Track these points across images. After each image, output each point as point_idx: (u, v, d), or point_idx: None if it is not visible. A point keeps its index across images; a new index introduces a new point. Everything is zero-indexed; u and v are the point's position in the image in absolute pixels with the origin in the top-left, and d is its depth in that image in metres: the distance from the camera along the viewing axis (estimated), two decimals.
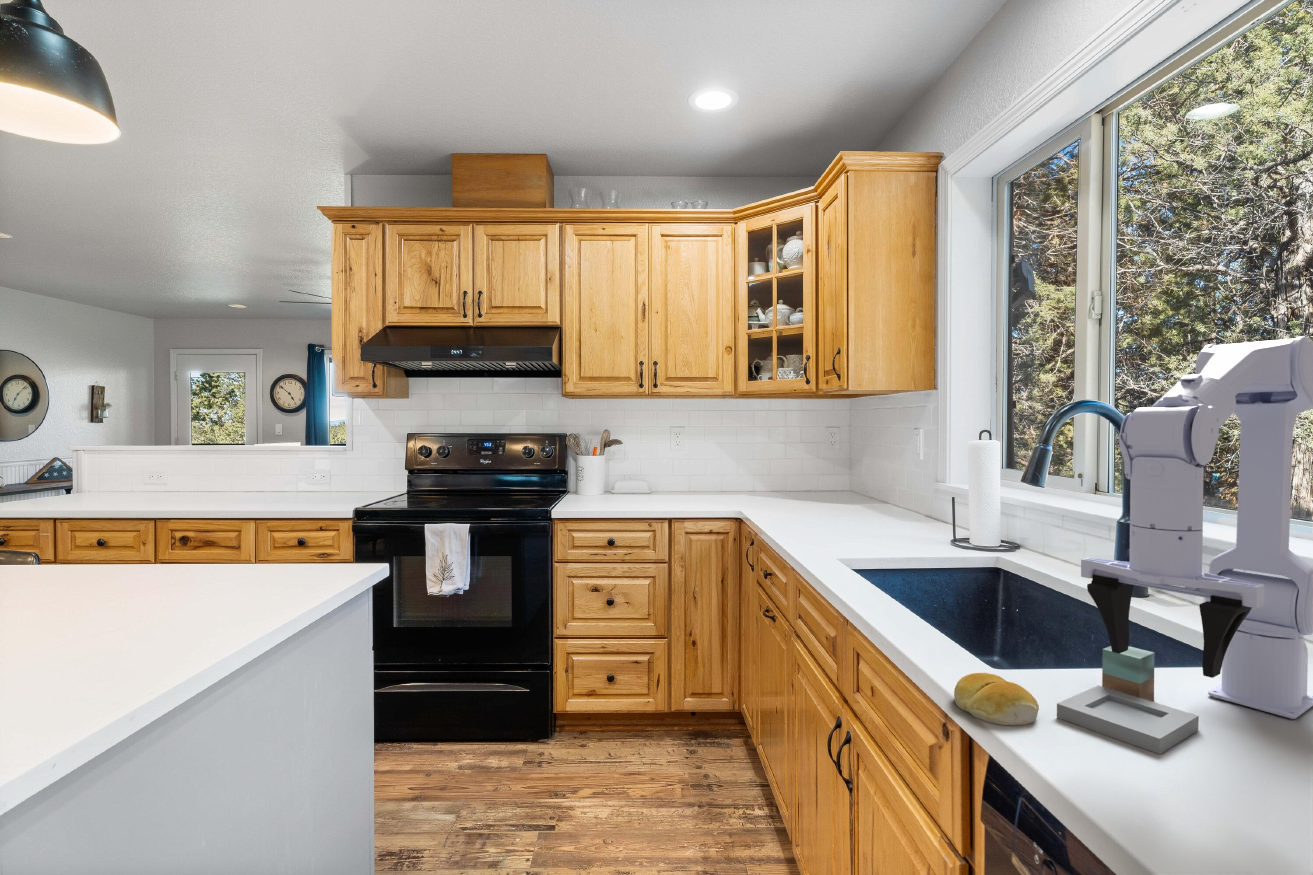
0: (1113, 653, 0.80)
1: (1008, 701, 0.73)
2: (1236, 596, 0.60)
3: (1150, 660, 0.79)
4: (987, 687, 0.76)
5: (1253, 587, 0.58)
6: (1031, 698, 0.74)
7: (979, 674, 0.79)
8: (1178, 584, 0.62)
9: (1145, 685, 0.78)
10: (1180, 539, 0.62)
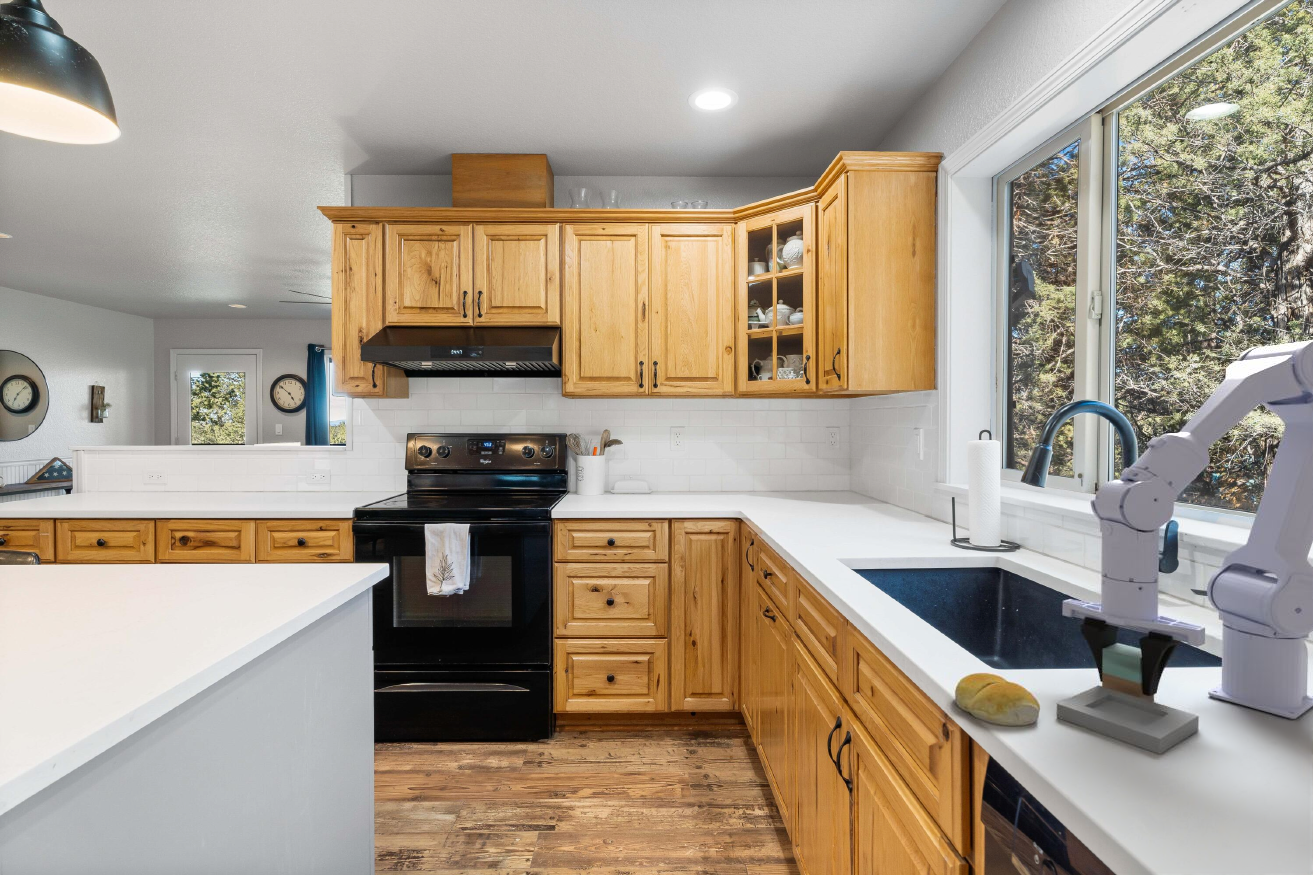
0: (1113, 653, 0.80)
1: (1010, 701, 0.73)
2: (1183, 636, 0.75)
3: None
4: (988, 687, 0.76)
5: (1195, 630, 0.74)
6: (1032, 698, 0.74)
7: (980, 674, 0.79)
8: (1138, 625, 0.77)
9: None
10: (1140, 589, 0.77)
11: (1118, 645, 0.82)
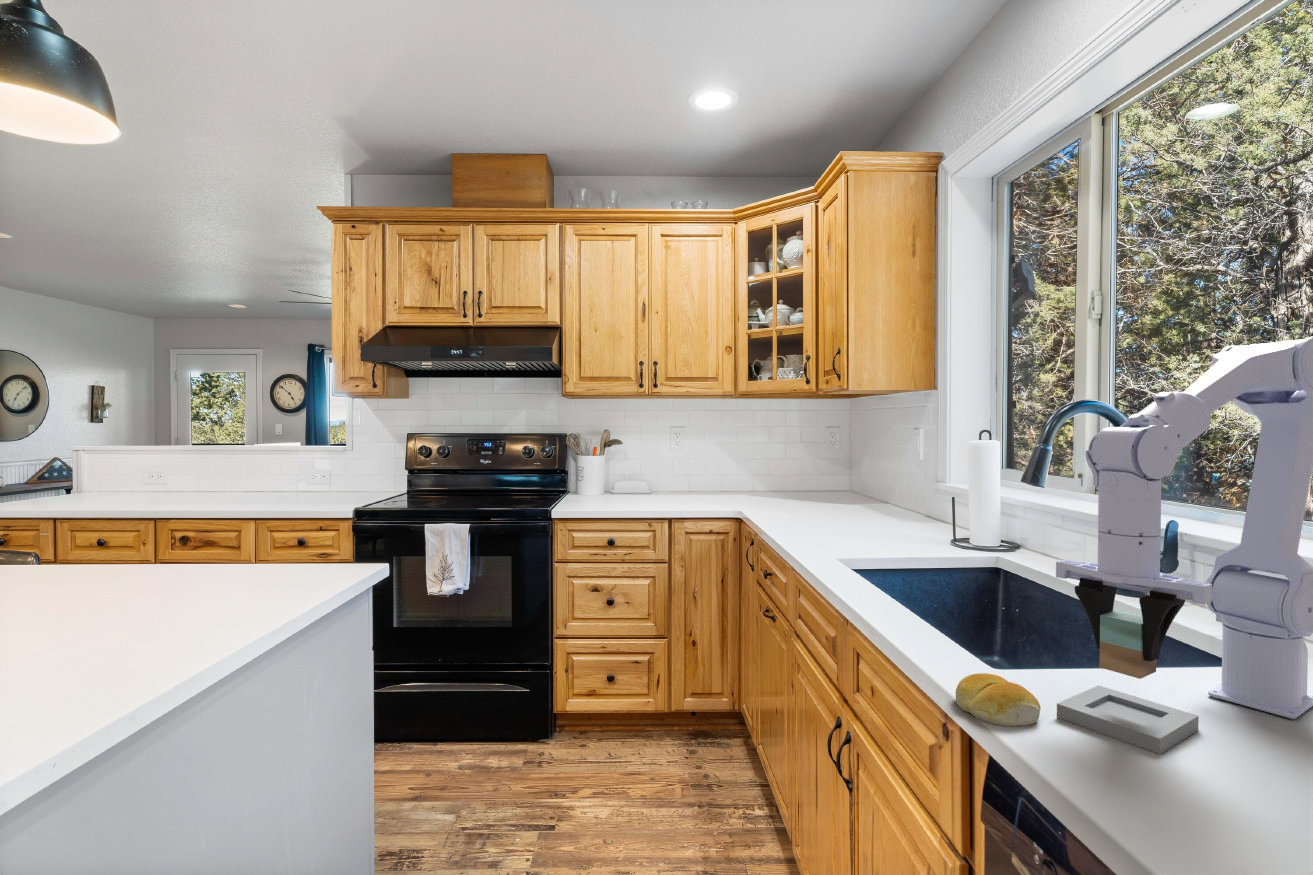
0: (1112, 619, 0.73)
1: (1010, 702, 0.73)
2: (1188, 594, 0.68)
3: None
4: (989, 688, 0.75)
5: (1201, 586, 0.67)
6: (1033, 699, 0.74)
7: (981, 675, 0.79)
8: (1138, 583, 0.70)
9: None
10: (1140, 544, 0.70)
11: (1117, 612, 0.75)
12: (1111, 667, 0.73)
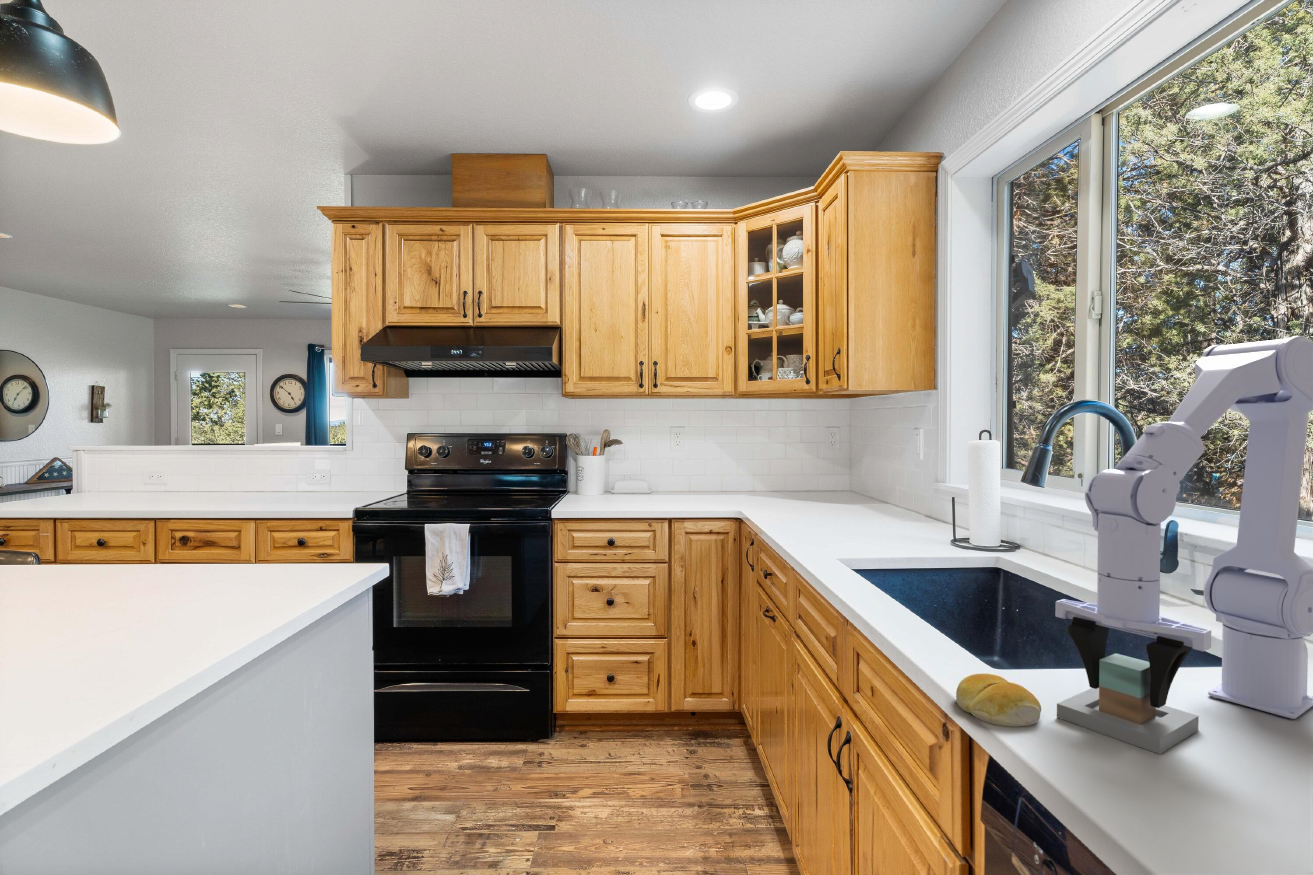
0: (1111, 664, 0.73)
1: (1011, 702, 0.73)
2: (1187, 640, 0.68)
3: None
4: (989, 688, 0.75)
5: (1201, 633, 0.67)
6: (1034, 699, 0.74)
7: (981, 675, 0.79)
8: (1137, 628, 0.70)
9: (1146, 699, 0.71)
10: (1139, 588, 0.71)
11: (1116, 656, 0.75)
12: (1110, 712, 0.73)
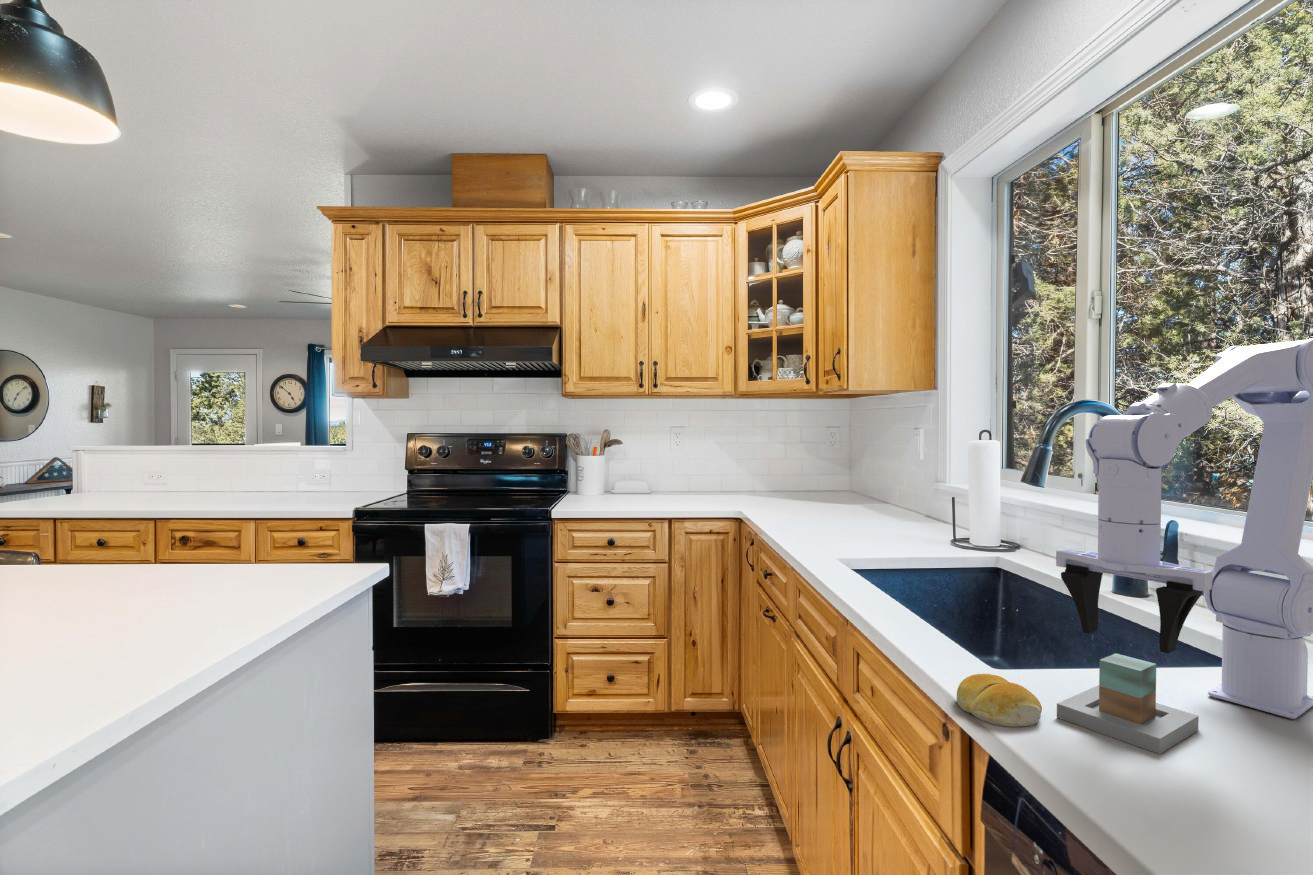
0: (1111, 664, 0.73)
1: (1012, 702, 0.73)
2: (1188, 581, 0.68)
3: (1151, 672, 0.72)
4: (990, 688, 0.75)
5: (1202, 573, 0.67)
6: (1034, 699, 0.74)
7: (982, 675, 0.79)
8: (1138, 571, 0.70)
9: (1146, 699, 0.71)
10: (1140, 531, 0.70)
11: (1116, 656, 0.75)
12: (1110, 712, 0.73)
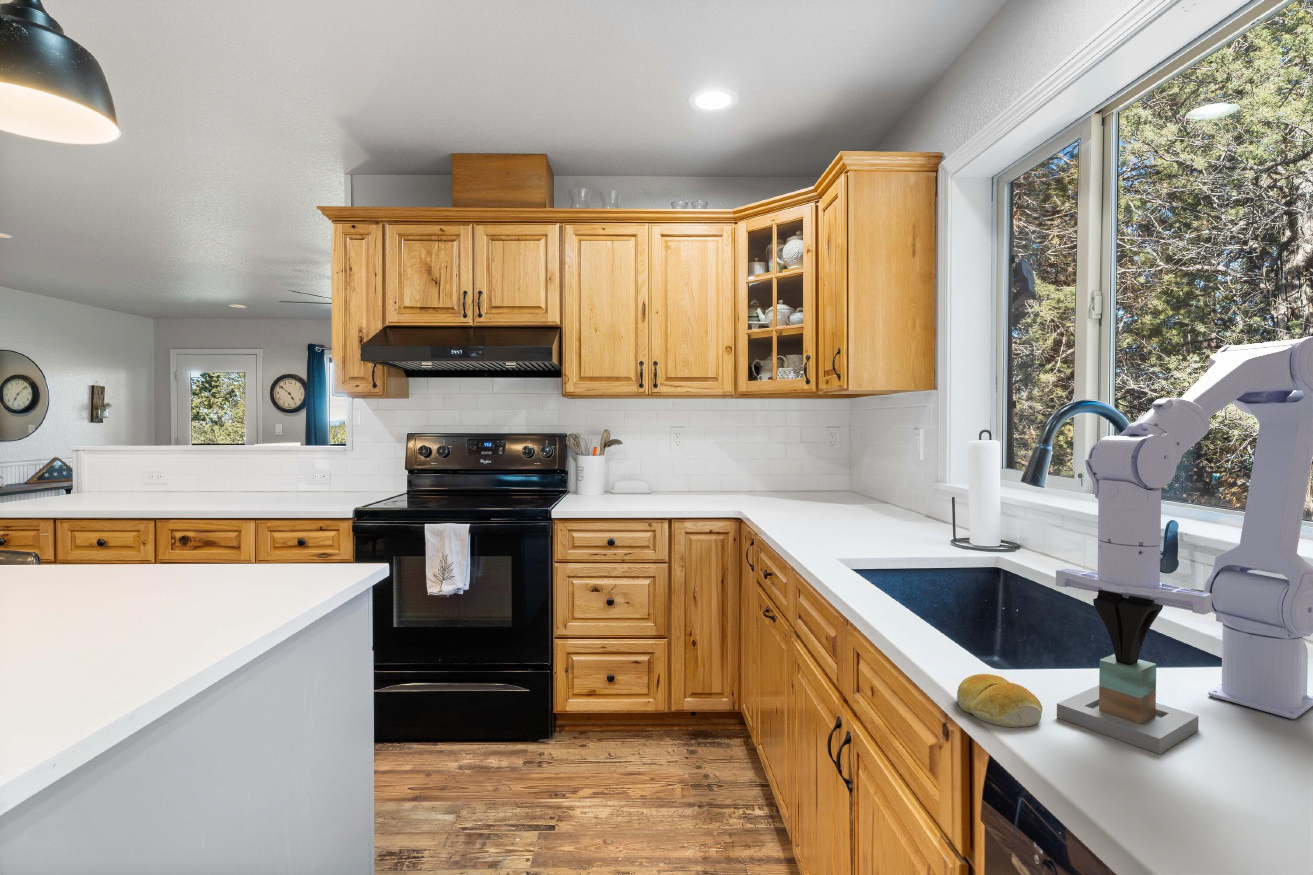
0: (1111, 664, 0.73)
1: (1012, 703, 0.73)
2: (1188, 604, 0.68)
3: (1151, 672, 0.72)
4: (990, 688, 0.75)
5: (1201, 596, 0.67)
6: (1035, 699, 0.74)
7: (982, 675, 0.79)
8: (1138, 593, 0.70)
9: (1146, 699, 0.71)
10: (1140, 553, 0.71)
11: None
12: (1110, 712, 0.73)
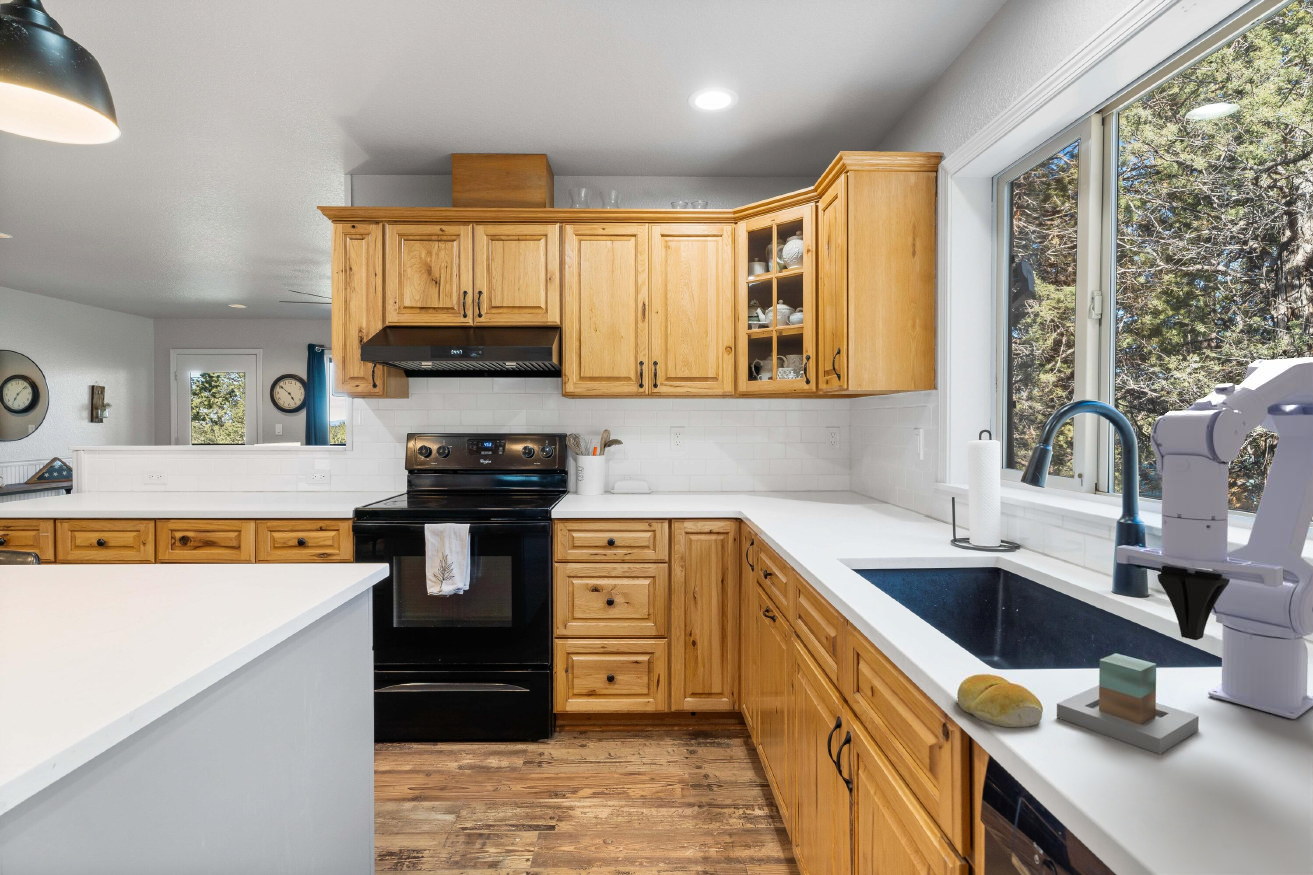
0: (1111, 664, 0.73)
1: (1012, 703, 0.73)
2: (1258, 577, 0.68)
3: (1151, 672, 0.72)
4: (991, 689, 0.75)
5: (1273, 569, 0.66)
6: (1035, 700, 0.74)
7: (982, 675, 0.78)
8: (1206, 567, 0.70)
9: (1146, 699, 0.71)
10: (1208, 527, 0.70)
11: (1116, 656, 0.75)
12: (1110, 712, 0.73)
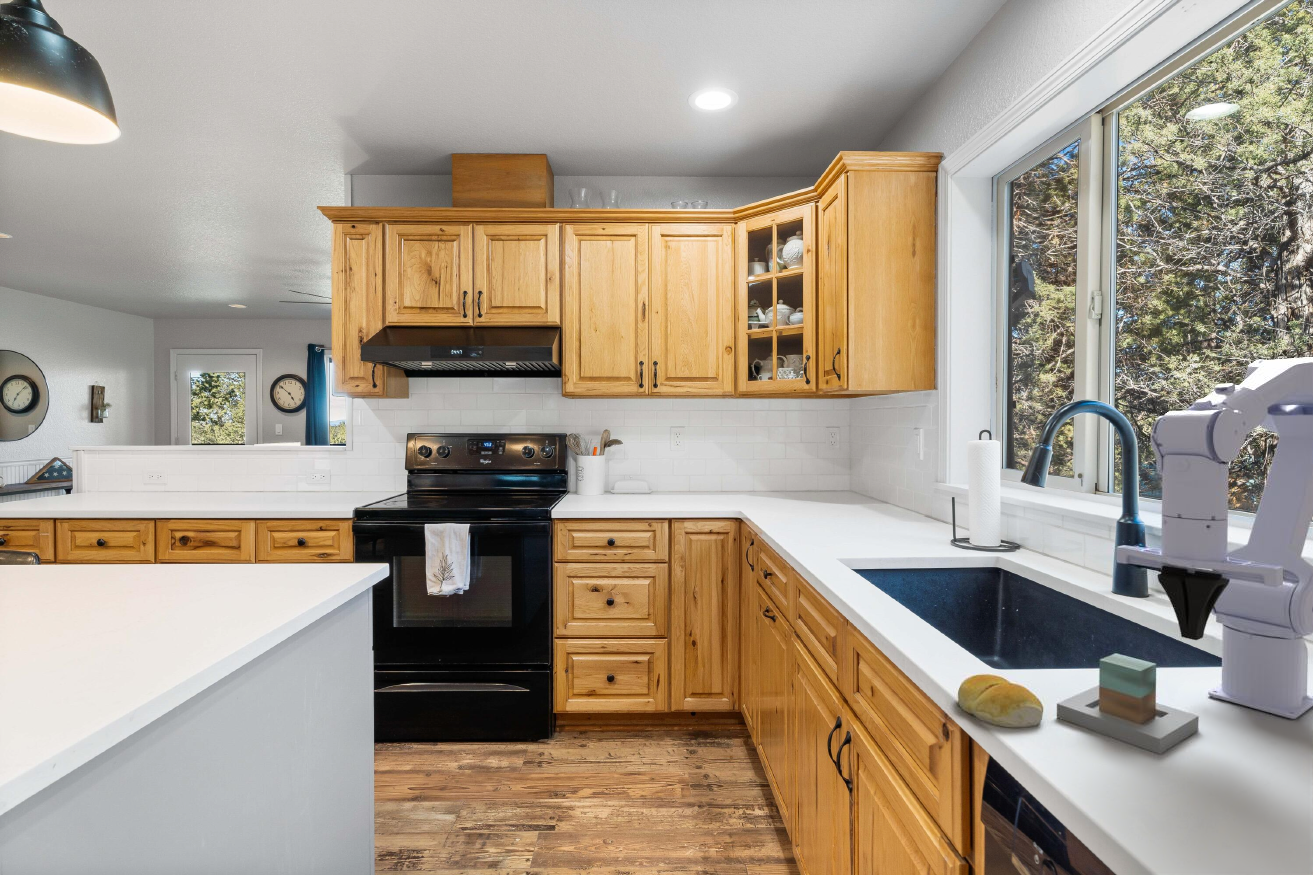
0: (1111, 664, 0.73)
1: (1013, 703, 0.73)
2: (1258, 577, 0.68)
3: (1151, 672, 0.72)
4: (991, 689, 0.75)
5: (1273, 569, 0.66)
6: (1036, 700, 0.74)
7: (983, 676, 0.78)
8: (1206, 567, 0.70)
9: (1146, 699, 0.71)
10: (1208, 527, 0.70)
11: (1116, 656, 0.75)
12: (1110, 712, 0.73)
